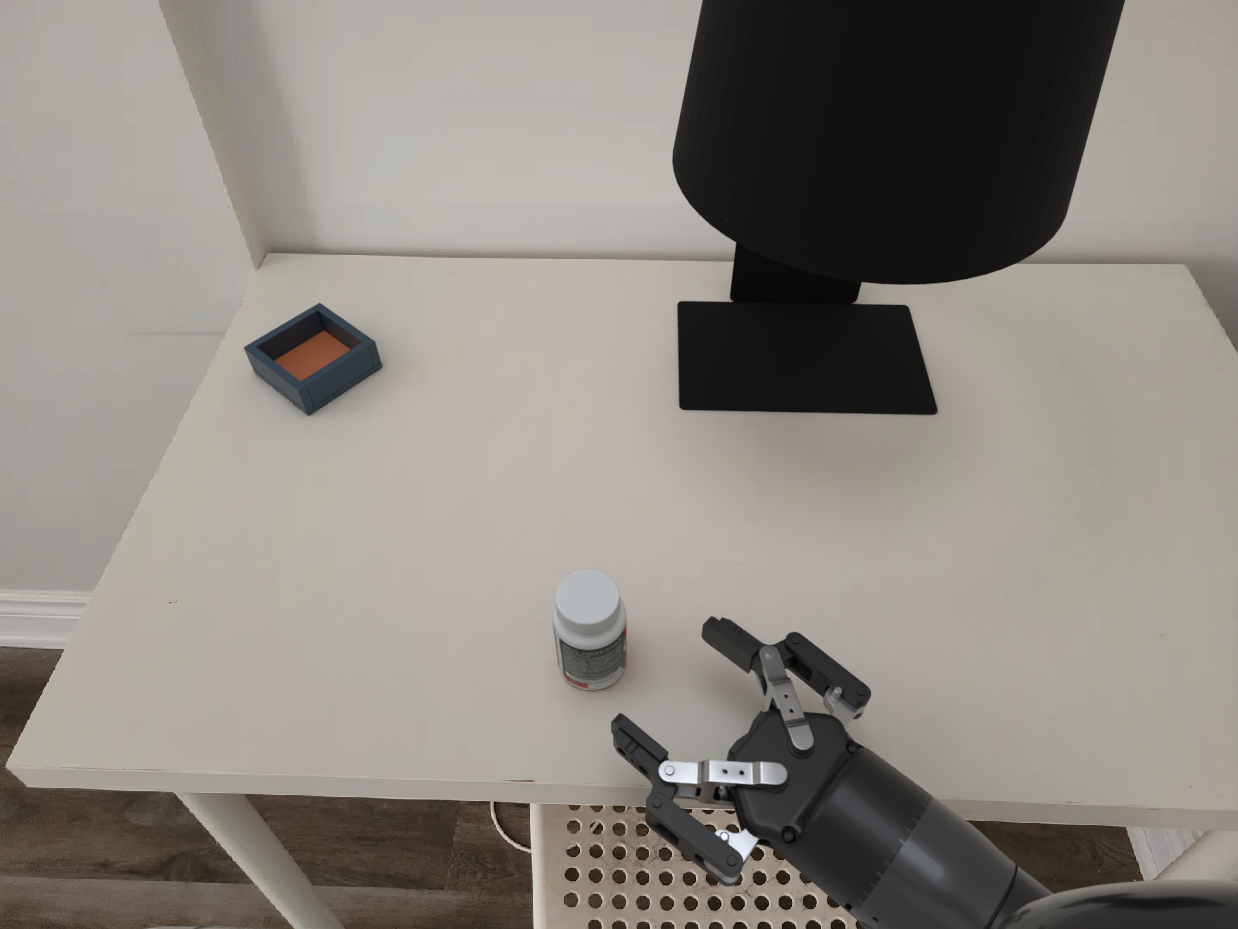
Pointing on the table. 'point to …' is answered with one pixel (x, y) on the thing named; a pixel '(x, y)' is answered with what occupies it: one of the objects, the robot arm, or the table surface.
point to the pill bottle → (590, 629)
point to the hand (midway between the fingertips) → (661, 672)
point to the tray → (313, 358)
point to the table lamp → (870, 179)
